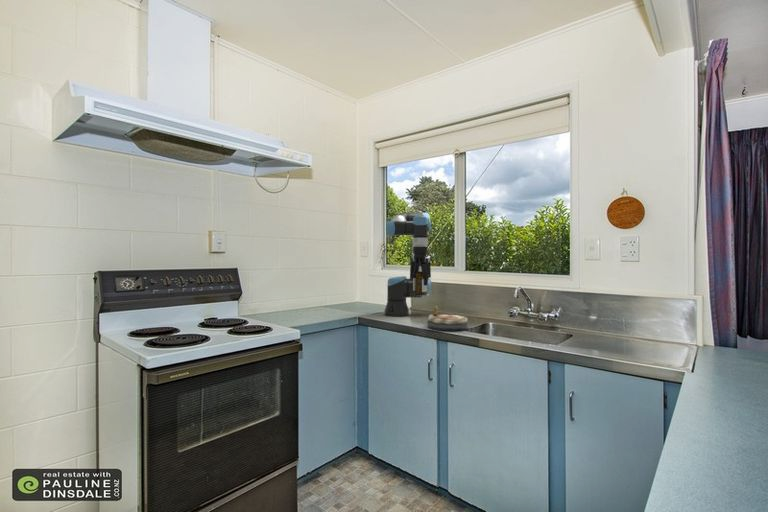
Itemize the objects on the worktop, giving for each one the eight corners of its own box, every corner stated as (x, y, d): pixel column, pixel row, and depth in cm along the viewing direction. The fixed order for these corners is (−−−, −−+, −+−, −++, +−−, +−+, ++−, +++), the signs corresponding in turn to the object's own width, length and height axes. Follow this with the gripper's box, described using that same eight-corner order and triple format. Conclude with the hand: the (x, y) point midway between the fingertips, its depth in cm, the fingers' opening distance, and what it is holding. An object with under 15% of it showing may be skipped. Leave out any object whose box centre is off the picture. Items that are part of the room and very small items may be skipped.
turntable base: (421, 323, 213) (422, 314, 213) (458, 322, 218) (458, 313, 218) (435, 332, 193) (436, 321, 192) (475, 330, 197) (475, 320, 197)
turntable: (425, 322, 199) (425, 310, 198) (432, 316, 218) (432, 304, 218) (465, 325, 193) (465, 312, 192) (469, 318, 212) (469, 306, 212)
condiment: (430, 294, 204) (430, 271, 204) (422, 296, 197) (422, 272, 197) (417, 293, 208) (418, 271, 208) (409, 295, 201) (409, 271, 201)
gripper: (403, 246, 208) (402, 289, 208) (427, 246, 193) (427, 293, 193) (413, 246, 212) (413, 289, 213) (438, 246, 197) (438, 292, 197)
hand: (420, 291), depth 203 cm, fingers closed on condiment, 6 cm apart
